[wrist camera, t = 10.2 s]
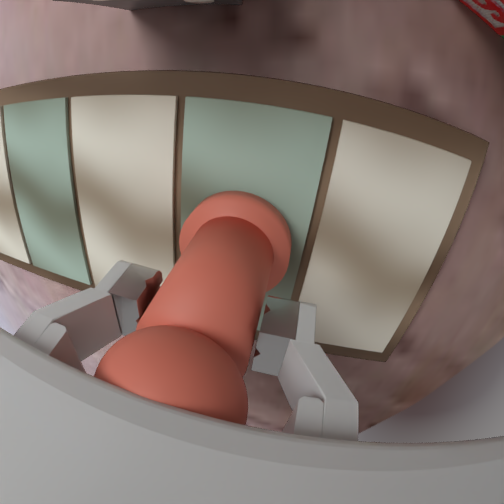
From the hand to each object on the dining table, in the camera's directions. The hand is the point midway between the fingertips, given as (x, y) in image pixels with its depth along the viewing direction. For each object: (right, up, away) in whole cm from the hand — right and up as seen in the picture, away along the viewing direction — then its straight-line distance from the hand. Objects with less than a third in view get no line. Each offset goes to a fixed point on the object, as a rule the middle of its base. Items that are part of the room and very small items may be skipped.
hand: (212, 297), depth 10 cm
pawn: (+1, +2, +3) cm, 4 cm away
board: (-5, +4, +5) cm, 8 cm away
